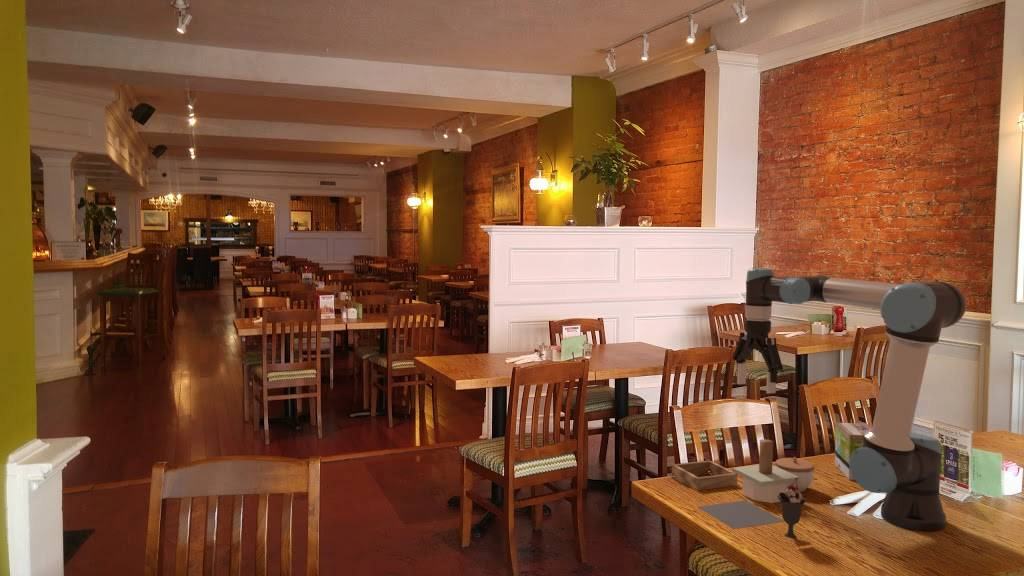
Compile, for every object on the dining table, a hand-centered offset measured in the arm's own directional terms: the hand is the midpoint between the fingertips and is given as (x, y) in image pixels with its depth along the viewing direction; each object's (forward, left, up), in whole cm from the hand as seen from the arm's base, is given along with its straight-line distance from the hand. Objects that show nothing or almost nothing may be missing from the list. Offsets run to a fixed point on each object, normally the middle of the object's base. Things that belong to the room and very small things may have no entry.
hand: (755, 388), depth 219 cm
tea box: (-4, -37, -29) cm, 47 cm away
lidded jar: (-9, -8, -29) cm, 32 cm away
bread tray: (+4, +15, -29) cm, 33 cm away
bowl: (-12, +5, -29) cm, 32 cm away
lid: (-12, +5, -23) cm, 27 cm away
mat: (-22, +21, -29) cm, 42 cm away
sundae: (-38, +18, -29) cm, 51 cm away
